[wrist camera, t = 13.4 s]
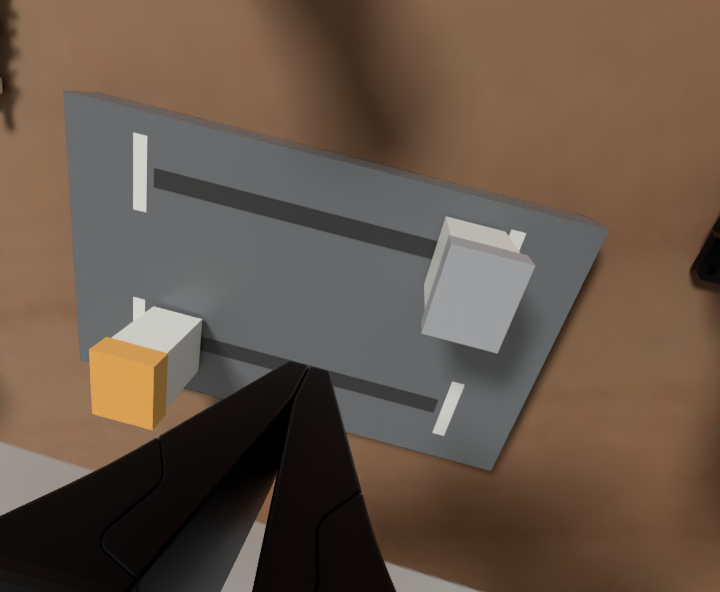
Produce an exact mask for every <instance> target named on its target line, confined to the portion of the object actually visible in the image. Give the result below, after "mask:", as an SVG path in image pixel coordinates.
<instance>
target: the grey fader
mask: <svg viewBox="0 0 720 592" xmlns="http://www.w3.org/2000/svg"><path fill="white" fill-rule="evenodd" d="M534 268H535V265H534V263H533V262H532V260H531V259H530V258H529V256H528V255H524V254H521V253H520V252H519V250H518V249H517V247H516V246H515V245H514V243H513V242H512V240H511V239H510V237H509V236H508V235H507V233H506V232H505V231H501V230H498V229H494V228H490V227H486V226H482V225H478V224H474V223H470V222H466V221H462V220H459V219H455V218H451V217H447V216H446V217H445V220H444V223H443V226H442V230H441V233H440V236H439V239H438V242H437V245H436V248H435V252H434V255H433V258H432V261H431V264H430V267H429V270H428V274H427V277H426V280H425V283H424V303H425V310H424V314H423V317H422V320H421V334H425V335H429V336H433V337H437V338H440V339H444V340H448V341H452V342H455V343H459V344H463V345H467V346H471V347H474V348H478V349H482V350H486V351H490V352H493V353H497V354H498V351H499V349H500V347H501V344H502V342H503V340H504V337H505V335H506V333H507V330H508V328H509V326H510V323H511V321H512V319H513V316H514V314H515V312H516V310H517V307H518V305H519V303H520V300H521V298H522V296H523V293H524V291H525V289H526V286H527V284H528V282H529V279H530V277H531V275H532V272H533V270H534Z"/></svg>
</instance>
